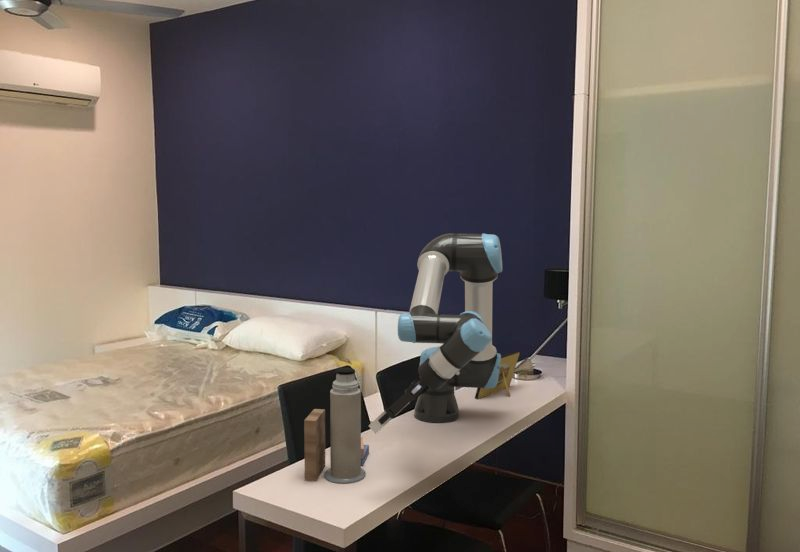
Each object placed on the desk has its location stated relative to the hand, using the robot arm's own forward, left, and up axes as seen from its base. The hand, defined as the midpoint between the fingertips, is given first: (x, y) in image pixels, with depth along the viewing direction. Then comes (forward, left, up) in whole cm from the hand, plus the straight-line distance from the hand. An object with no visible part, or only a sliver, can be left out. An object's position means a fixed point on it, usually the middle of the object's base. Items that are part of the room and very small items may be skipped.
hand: (381, 421), depth 176 cm
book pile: (-13, -10, -16) cm, 23 cm away
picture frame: (-86, +32, -16) cm, 93 cm away
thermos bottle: (-2, -10, -15) cm, 18 cm away
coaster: (-2, -10, -16) cm, 19 cm away
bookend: (-2, -18, -16) cm, 24 cm away
